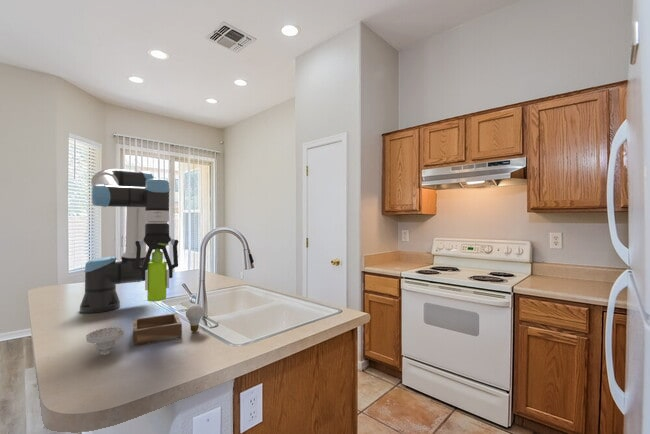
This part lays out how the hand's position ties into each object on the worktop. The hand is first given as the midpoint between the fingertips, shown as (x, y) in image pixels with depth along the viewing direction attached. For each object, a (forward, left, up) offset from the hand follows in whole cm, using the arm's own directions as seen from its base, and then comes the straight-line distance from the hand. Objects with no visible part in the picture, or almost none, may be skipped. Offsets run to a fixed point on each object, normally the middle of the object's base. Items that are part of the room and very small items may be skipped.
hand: (157, 288), depth 111 cm
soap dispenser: (0, 0, -4) cm, 4 cm away
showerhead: (+9, -14, -17) cm, 24 cm away
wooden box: (0, 0, -17) cm, 17 cm away
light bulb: (+3, +12, -17) cm, 21 cm away
